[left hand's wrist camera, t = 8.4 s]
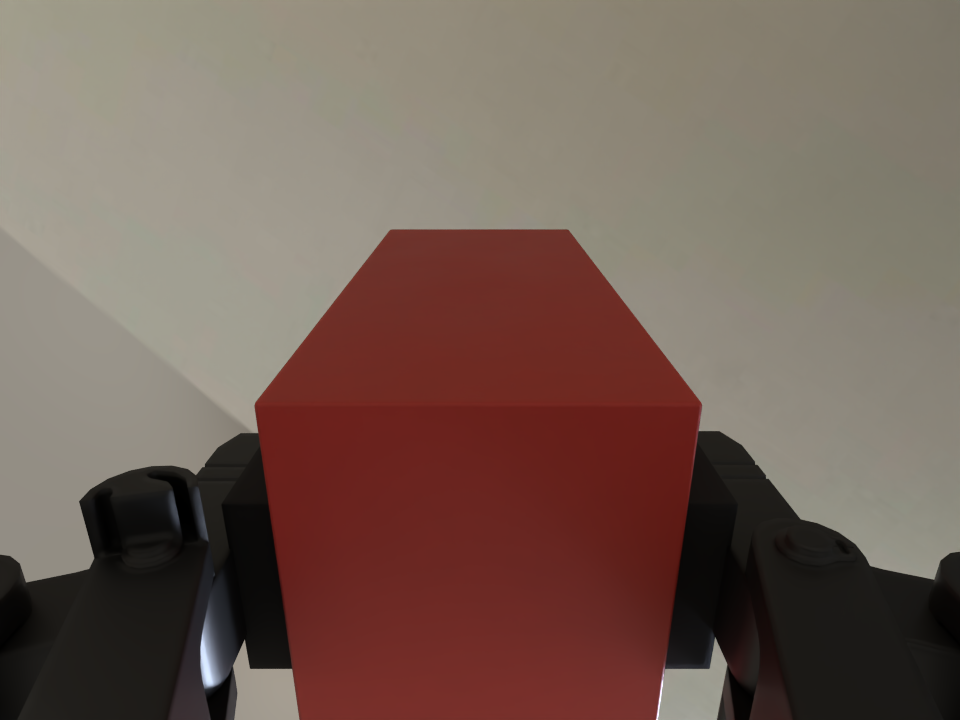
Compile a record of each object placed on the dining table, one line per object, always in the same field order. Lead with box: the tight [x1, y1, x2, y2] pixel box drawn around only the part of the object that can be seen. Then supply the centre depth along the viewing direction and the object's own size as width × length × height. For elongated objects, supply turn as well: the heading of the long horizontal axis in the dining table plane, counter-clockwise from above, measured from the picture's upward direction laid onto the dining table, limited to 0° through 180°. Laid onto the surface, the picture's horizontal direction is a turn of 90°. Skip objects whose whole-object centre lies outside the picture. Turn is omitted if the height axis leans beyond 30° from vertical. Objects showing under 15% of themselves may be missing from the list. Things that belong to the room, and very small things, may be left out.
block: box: [255, 230, 702, 720], centre depth 13 cm, size 6×5×11 cm
